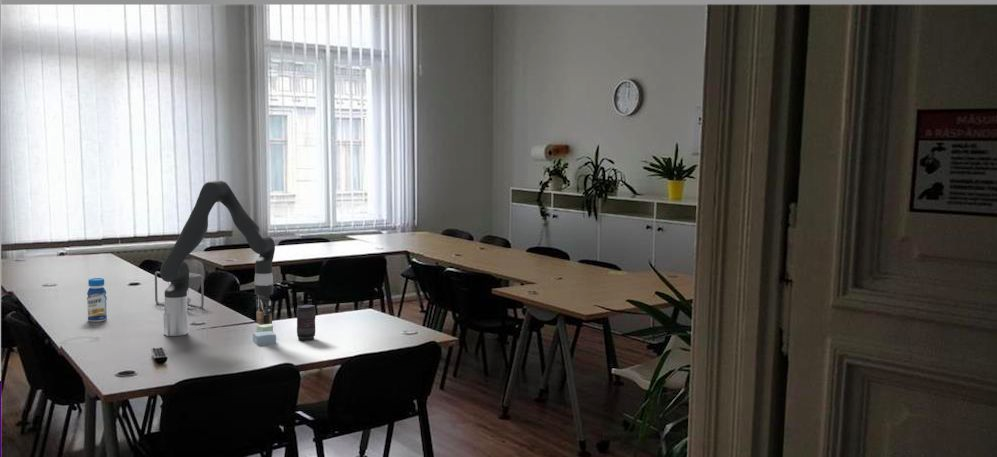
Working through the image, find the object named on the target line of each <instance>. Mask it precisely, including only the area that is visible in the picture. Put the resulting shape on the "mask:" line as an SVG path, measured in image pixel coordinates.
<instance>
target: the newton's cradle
mask: <svg viewBox="0 0 997 457" xmlns="http://www.w3.org/2000/svg"><path fill="white" fill-rule="evenodd" d="M158 274H159V275H160V270H159V271H158V270H157V271H155V272H154V301H155V303H156V305H160V306H164V307H165V301H162V302H159V301H158ZM195 277H199V278H200V285H201V286H200V288H201V289H200V293H201V294H200V295H201V296H200V299H201V304H200V305H197V304H193V303H191V301H192V298H191V297H189V295H187V306H189V307H191V308H187V311H188V310H189V311H190V310H194V309H195V310H196V309H203V308H204V305H205V304H204V303H205V301H204V300H205V296H204V295H205V293H204V292H205V290H204V288H205V287H204V286H205V285H204V276H203V275H202V274H199V273H196V272H195V273H194V272H190V271H189V281H191V278H195ZM169 283H170V282H167V284H168V285H170V284H169ZM190 284H191V283H189V287H190ZM189 290H190V289H188V291H187V293H189Z"/></svg>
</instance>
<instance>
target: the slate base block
mask: <svg viewBox="0 0 997 457" xmlns="http://www.w3.org/2000/svg"><path fill="white" fill-rule="evenodd" d="M252 342H253V343H254V344H255V345H256V346H261V345H263V346H264V345H272V344H276V343H277V335H276V333H274V331H273V332H272V331H266V332H257V331H255V332H252Z"/></svg>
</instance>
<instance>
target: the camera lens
mask: <svg viewBox="0 0 997 457" xmlns="http://www.w3.org/2000/svg"><path fill="white" fill-rule="evenodd" d="M316 309H317V308H316V305H313V304H300V305H297V307H296V336H297V339H298V341H299V342H310V341H311V342H312V341H313V340H314V339H315V336H316V316H317V314H316Z"/></svg>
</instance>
